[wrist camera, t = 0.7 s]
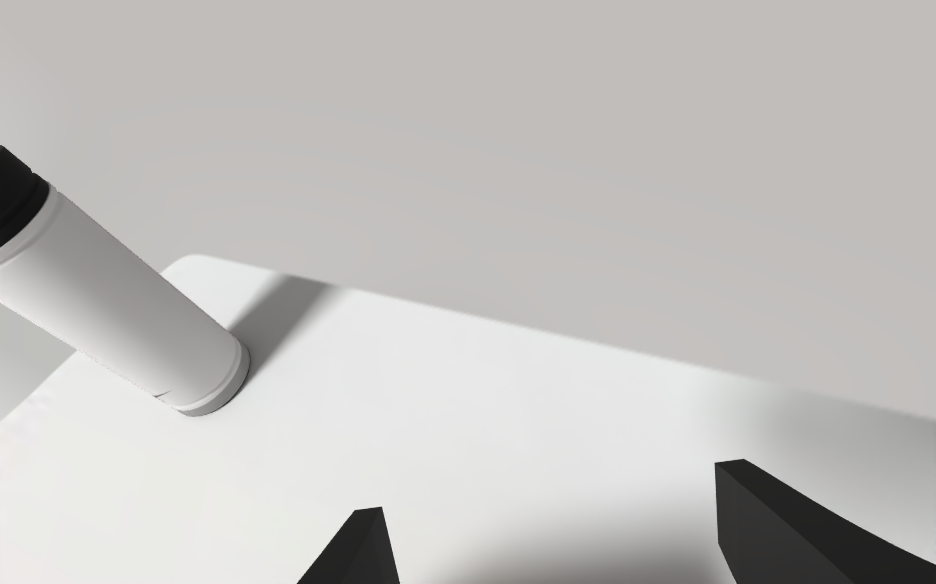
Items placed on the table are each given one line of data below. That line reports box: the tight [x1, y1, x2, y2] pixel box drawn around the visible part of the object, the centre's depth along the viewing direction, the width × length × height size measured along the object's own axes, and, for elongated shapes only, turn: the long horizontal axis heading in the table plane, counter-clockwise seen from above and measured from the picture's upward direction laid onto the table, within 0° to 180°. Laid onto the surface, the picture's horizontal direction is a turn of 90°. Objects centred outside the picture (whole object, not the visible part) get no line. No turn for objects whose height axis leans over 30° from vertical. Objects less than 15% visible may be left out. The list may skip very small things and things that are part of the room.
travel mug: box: [0, 145, 250, 417], centre depth 34 cm, size 6×7×20 cm
